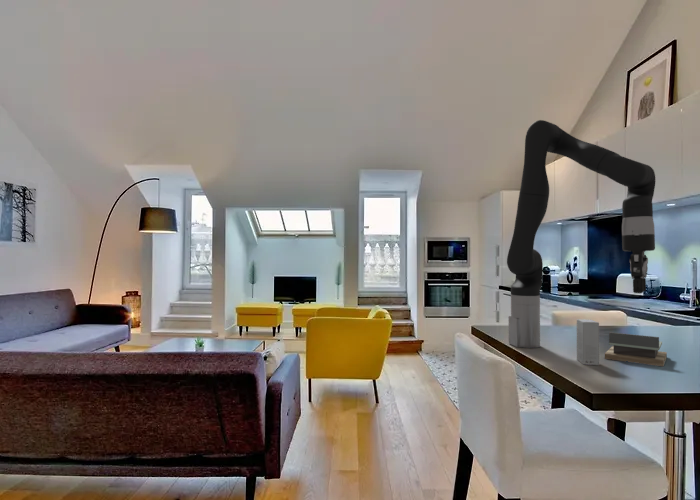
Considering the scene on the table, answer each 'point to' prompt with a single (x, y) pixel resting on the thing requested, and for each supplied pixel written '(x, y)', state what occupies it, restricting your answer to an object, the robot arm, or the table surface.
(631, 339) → the cover
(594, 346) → the skincare box
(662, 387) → the table surface
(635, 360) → the socket board
